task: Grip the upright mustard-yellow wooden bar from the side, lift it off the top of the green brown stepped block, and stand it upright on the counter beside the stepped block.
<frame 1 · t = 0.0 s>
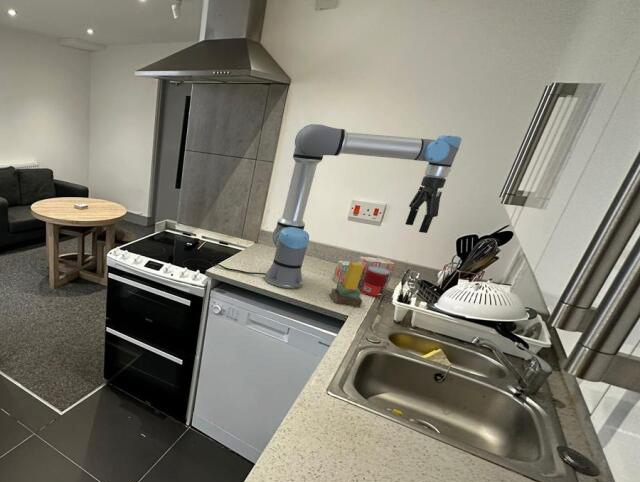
hand: (415, 228, 165), 28 cm above the worktop, tool pointing down, fingers open, 13 cm apart
stack of blocks: (358, 284, 179), on the worktop
green brown stepped block: (344, 300, 159), on the worktop
bar: (349, 287, 157), point 6 cm above the worktop, touching green brown stepped block
canned food: (370, 293, 169), on the worktop
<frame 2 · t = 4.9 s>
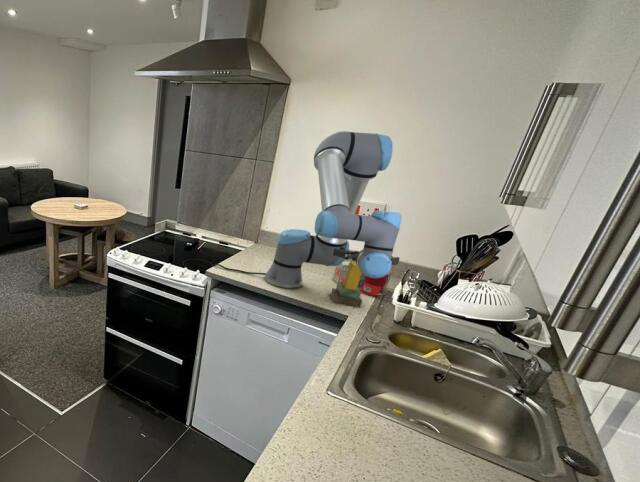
hand: (362, 254, 145), 22 cm above the worktop, tool horizontal, fingers open, 13 cm apart
nothing on the worktop moved.
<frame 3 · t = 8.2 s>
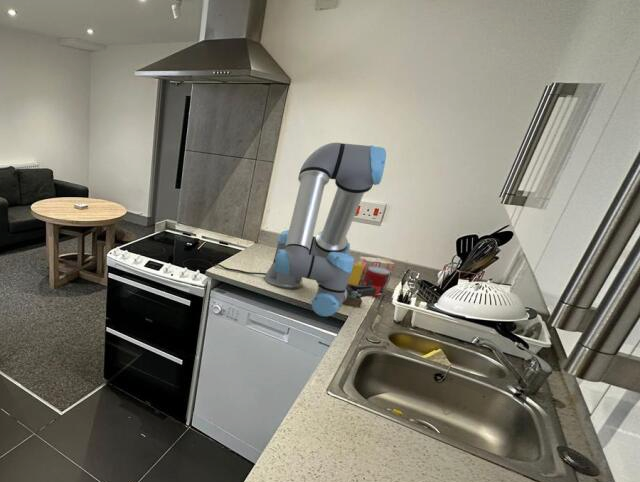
hand: (349, 278, 147), 13 cm above the worktop, tool horizontal, fingers open, 13 cm apart
nothing on the worktop moved.
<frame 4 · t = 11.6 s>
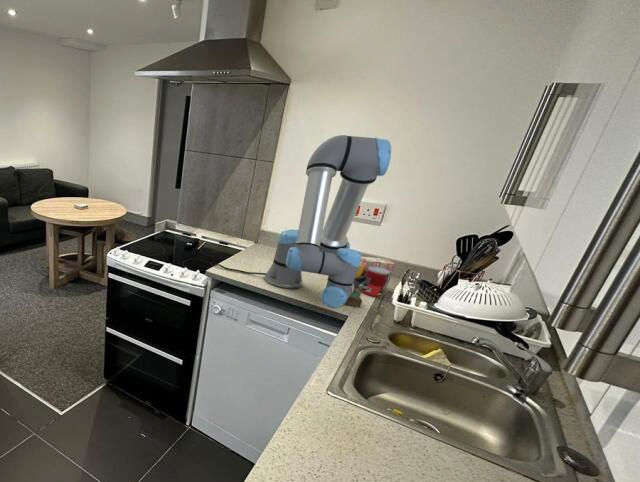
hand: (356, 271, 158), 11 cm above the worktop, tool horizontal, fingers closed on bar, 5 cm apart
bar: (349, 287, 157), point 6 cm above the worktop, touching gripper, green brown stepped block
everything else where it was.
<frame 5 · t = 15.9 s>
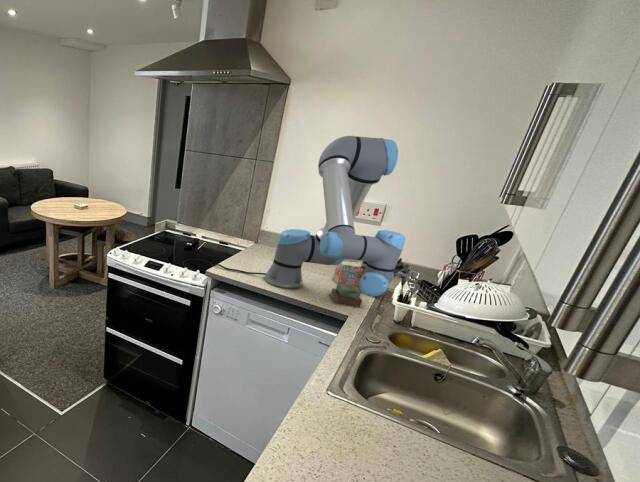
hand: (390, 259, 146), 21 cm above the worktop, tool horizontal, fingers closed on bar, 5 cm apart
bar: (383, 276, 144), point 15 cm above the worktop, touching gripper
everything else where it was.
when the fingers open (5 cm above the worktop, at t = 20.2 s): bar stays where it is, on the worktop.
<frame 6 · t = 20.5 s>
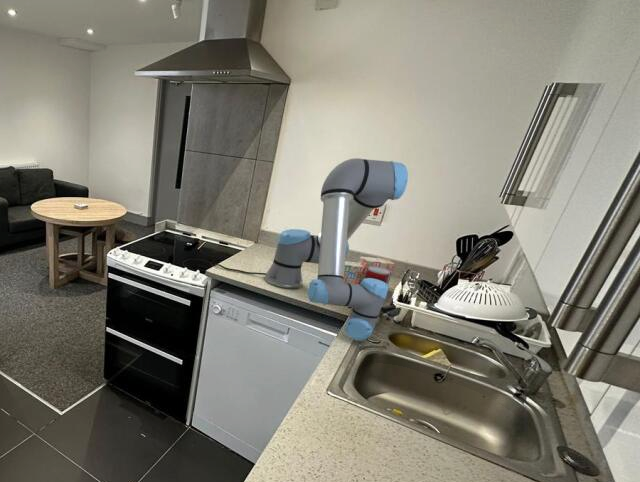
hand: (377, 297, 151), 5 cm above the worktop, tool horizontal, fingers open, 10 cm apart
bar: (370, 313, 150), on the worktop
everything else where it was.
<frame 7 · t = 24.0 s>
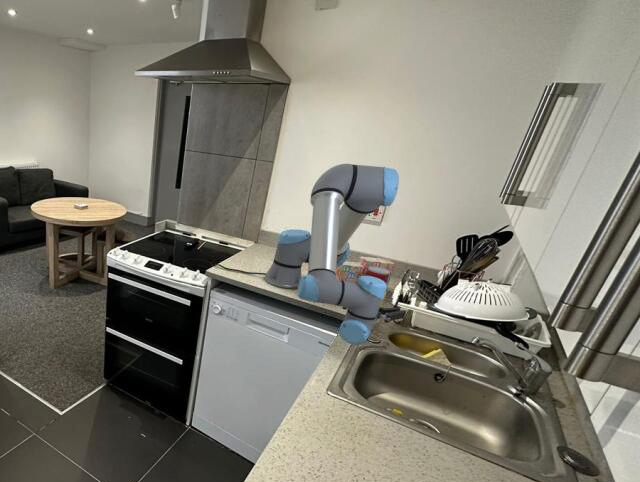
hand: (374, 297, 139), 10 cm above the worktop, tool horizontal, fingers open, 13 cm apart
nothing on the worktop moved.
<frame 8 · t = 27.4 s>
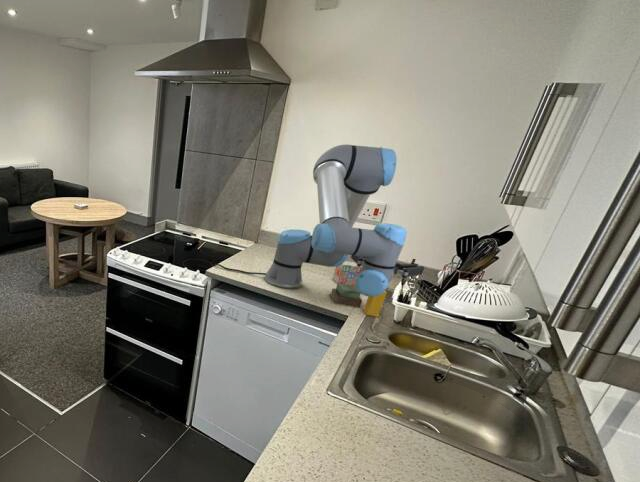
hand: (389, 257, 133), 25 cm above the worktop, tool horizontal, fingers open, 13 cm apart
nothing on the worktop moved.
at the end: bar inside the target area (0.0 cm from its centre), on the worktop; bar tilted 0°; the gripper is holding nothing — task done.
